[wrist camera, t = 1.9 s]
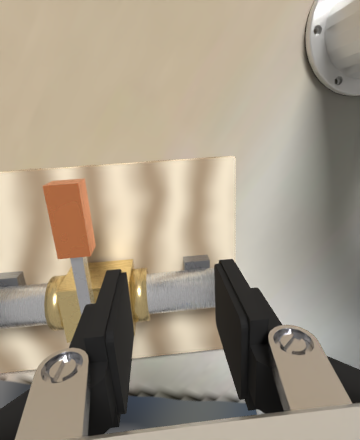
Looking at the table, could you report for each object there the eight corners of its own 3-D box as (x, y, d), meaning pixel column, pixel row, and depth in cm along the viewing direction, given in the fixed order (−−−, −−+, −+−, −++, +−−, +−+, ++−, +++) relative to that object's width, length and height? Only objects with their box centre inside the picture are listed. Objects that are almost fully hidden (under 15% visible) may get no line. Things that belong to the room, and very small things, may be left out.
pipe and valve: (219, 249, 35) (236, 281, 28) (220, 292, 37) (236, 332, 30) (-36, 272, 33) (-90, 312, 26) (-22, 315, 35) (-68, 365, 28)
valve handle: (84, 178, 23) (78, 183, 21) (109, 331, 28) (106, 348, 26) (52, 180, 23) (42, 186, 21) (82, 334, 28) (77, 351, 26)
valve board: (232, 155, 33) (235, 157, 32) (232, 339, 41) (235, 347, 40) (-76, 176, 31) (-88, 179, 30) (-13, 366, 39) (-19, 375, 38)
